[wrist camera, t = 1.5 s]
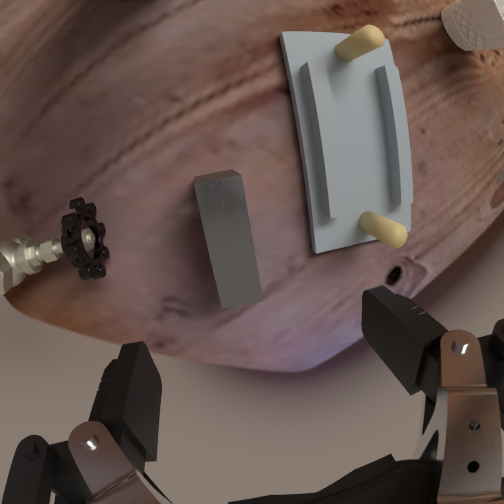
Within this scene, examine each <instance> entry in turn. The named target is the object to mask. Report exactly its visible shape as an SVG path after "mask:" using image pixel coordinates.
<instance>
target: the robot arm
mask: <svg viewBox="0 0 504 504" xmlns="http://www.w3.org/2000/svg"><path fill="white" fill-rule="evenodd" d="M362 332H363V335H364V337H365V339H366V341H367V342H368V343H369V344H370V345H371V347H372V348H373V349H374V350H375V352H376V353H377V354H378V355H379V357H380V358H381V359H382V360H383V361H384V363H385V364H386V365H387V366H388V368H389V369H390V370H391V371H392V372H393V374H394V375H395V376H396V378H397V379H398V380H399V381H400V383H401V384H402V385H403V386H404V388H405V389H406V390H407V392H408V393H409V394H410V395H413V394H415V393H417V392H419V391H421V390H422V391H423V392H424V393H425V394H424V398H423V404H422V414H421V422H420V430H419V438H418V442H417V446H416V449H415V452H414V455H413V458H412V459H409V460H400V461H395V460H394V458H393V456H392V455H391V454H389V455H387V456H385V457H383V458H381V459H378V460H377V461H374V462H372V463H369V464H367V465H364V466H362V467H360V468H357V469H355V470H353V471H352V472H350V473H349V474H347V475H346V476H344V477H342V478H341V479H339V480H338V481H336V482H334V483H333V484H331V485H329V486H327V487H326V488H324V489H322V490H321V491H318V492H316V493H306V494H289V495H268V496H262V497H257V498H252V499H246V500H240V501H234V502H228V504H504V477H501V475H502V473H501V472H502V439H501V428H502V429H503V431H504V319H501V320H499V321H497V323H496V324H495V326H494V329H493V332H492V334H491V335H487V336H483V337H479V338H476V337H475V336H474V335H473V334H472V333H470V332H468V331H464V330H452V331H448V330H447V329H446V328H445V327H443V326H442V325H441V324H440V323H439V322H438V321H436V320H435V319H434V318H433V317H431V316H430V315H429V314H428V313H425V311H424V310H423V309H422V308H420V307H418V305H416V304H415V303H414V302H413V301H412V300H410V299H409V298H407V297H404V296H402V295H399V294H394V293H393V292H391V291H390V290H389V289H388V288H386V287H385V286H383V285H381V286H378V287H375V288H371V289H368V290H365V291H364V292H363V295H362ZM101 381H102V382H100V385H99V388H98V389H99V391H97V394H96V397H95V400H94V404H93V407H92V410H91V414H90V417H89V420H88V422H84V423H82V424H80V425H78V426H77V427H76V428H75V429H74V430H73V431H72V432H71V434H70V436H69V439H68V441H64V442H60V443H56V444H51V445H49V444H48V443H47V442H46V441H45V440H44V439H43V438H42V437H41V436H39V435H31V436H28V437H26V438H24V439H23V440H22V441H21V442H20V443H19V444H18V446H17V449H16V451H15V455H14V458H13V461H12V464H11V468H10V471H9V475H8V479H7V483H6V487H5V491H4V495H3V499H2V504H49V502H50V495H51V491H52V492H53V493H55V494H56V495H55V503H54V504H174V503H173V502H172V501H171V500H170V499H169V498H168V497H167V496H166V494H165V493H164V492H163V491H162V490H161V489H160V488H159V487H158V486H157V484H156V483H155V482H154V481H153V480H152V479H151V477H150V476H149V475H148V474H147V473H146V472H145V471H144V467H145V462H149V461H157V444H158V429H159V415H160V404H161V394H162V382H161V378H160V374H159V372H158V370H157V368H156V366H155V364H154V362H153V359H152V358H151V355H150V353H149V351H148V348H147V346H146V344H145V343H144V342H143V341H141V342H135V343H128V344H123V345H122V347H121V350H120V353H119V356H118V359H114V360H112V361H111V362H110V364H109V365H108V366H107V367H106V369H105V370H104V373H103V376H102V379H101Z"/></svg>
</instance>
